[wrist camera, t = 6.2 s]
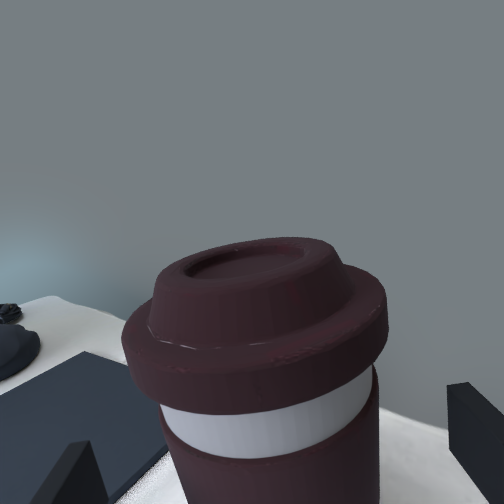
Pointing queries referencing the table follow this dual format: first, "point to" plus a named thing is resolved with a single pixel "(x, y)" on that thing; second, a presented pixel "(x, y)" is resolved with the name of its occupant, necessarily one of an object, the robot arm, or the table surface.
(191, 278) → the coffee cup
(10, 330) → the computer mouse
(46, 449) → the mat
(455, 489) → the table surface
